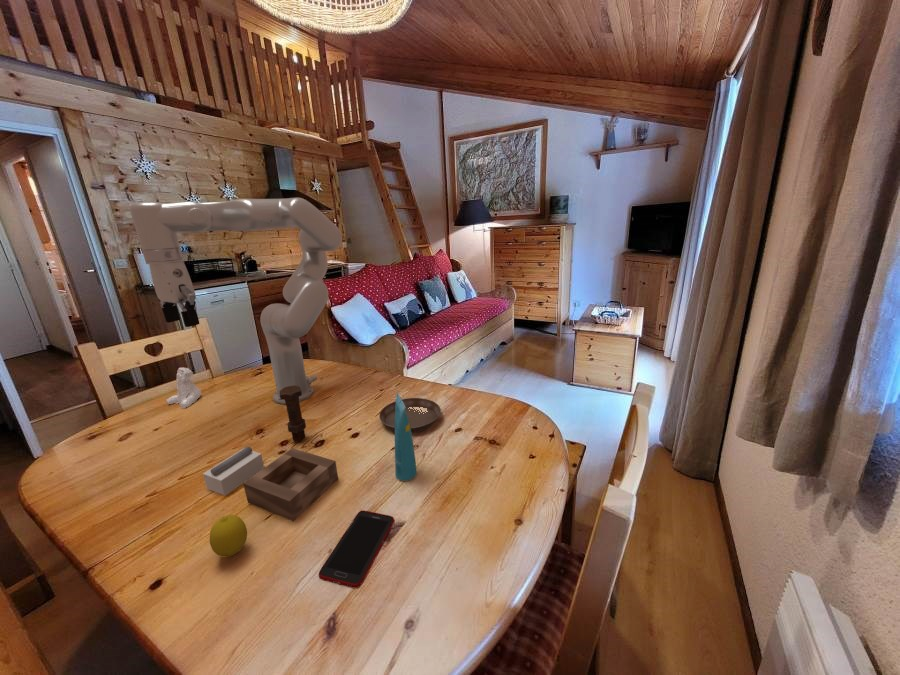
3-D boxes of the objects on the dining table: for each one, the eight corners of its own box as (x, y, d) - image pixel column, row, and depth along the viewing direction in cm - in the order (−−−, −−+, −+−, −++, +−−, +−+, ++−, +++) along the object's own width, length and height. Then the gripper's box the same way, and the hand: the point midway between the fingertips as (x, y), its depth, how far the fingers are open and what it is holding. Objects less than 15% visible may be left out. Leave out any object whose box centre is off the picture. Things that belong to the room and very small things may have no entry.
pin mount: (247, 461, 90) (242, 442, 88) (264, 467, 87) (259, 447, 85) (207, 488, 81) (200, 467, 79) (225, 495, 79) (219, 474, 77)
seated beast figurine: (165, 404, 120) (154, 371, 116) (191, 393, 127) (182, 361, 123) (184, 409, 116) (174, 375, 112) (209, 397, 124) (201, 365, 120)
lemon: (225, 541, 67) (215, 507, 65) (256, 538, 68) (247, 504, 65) (209, 568, 62) (197, 532, 60) (242, 565, 62) (232, 529, 60)
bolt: (314, 434, 100) (305, 385, 95) (305, 445, 95) (296, 394, 91) (293, 434, 101) (284, 385, 96) (284, 445, 96) (274, 393, 91)
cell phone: (316, 579, 60) (316, 575, 60) (360, 513, 73) (360, 509, 73) (358, 591, 58) (358, 586, 58) (395, 520, 71) (395, 516, 71)
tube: (421, 480, 81) (416, 404, 75) (401, 487, 79) (394, 409, 73) (410, 461, 88) (404, 390, 82) (391, 468, 86) (384, 394, 80)
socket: (295, 465, 88) (292, 447, 86) (338, 479, 82) (335, 461, 81) (247, 502, 76) (242, 483, 75) (293, 521, 71) (289, 501, 70)
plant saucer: (377, 411, 112) (376, 402, 111) (433, 401, 117) (432, 393, 116) (383, 443, 96) (382, 433, 95) (448, 431, 100) (447, 421, 99)
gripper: (198, 255, 88) (216, 323, 93) (164, 253, 96) (181, 316, 101) (163, 259, 81) (183, 331, 87) (129, 257, 90) (150, 323, 95)
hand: (182, 323), depth 94 cm, fingers open, 9 cm apart
